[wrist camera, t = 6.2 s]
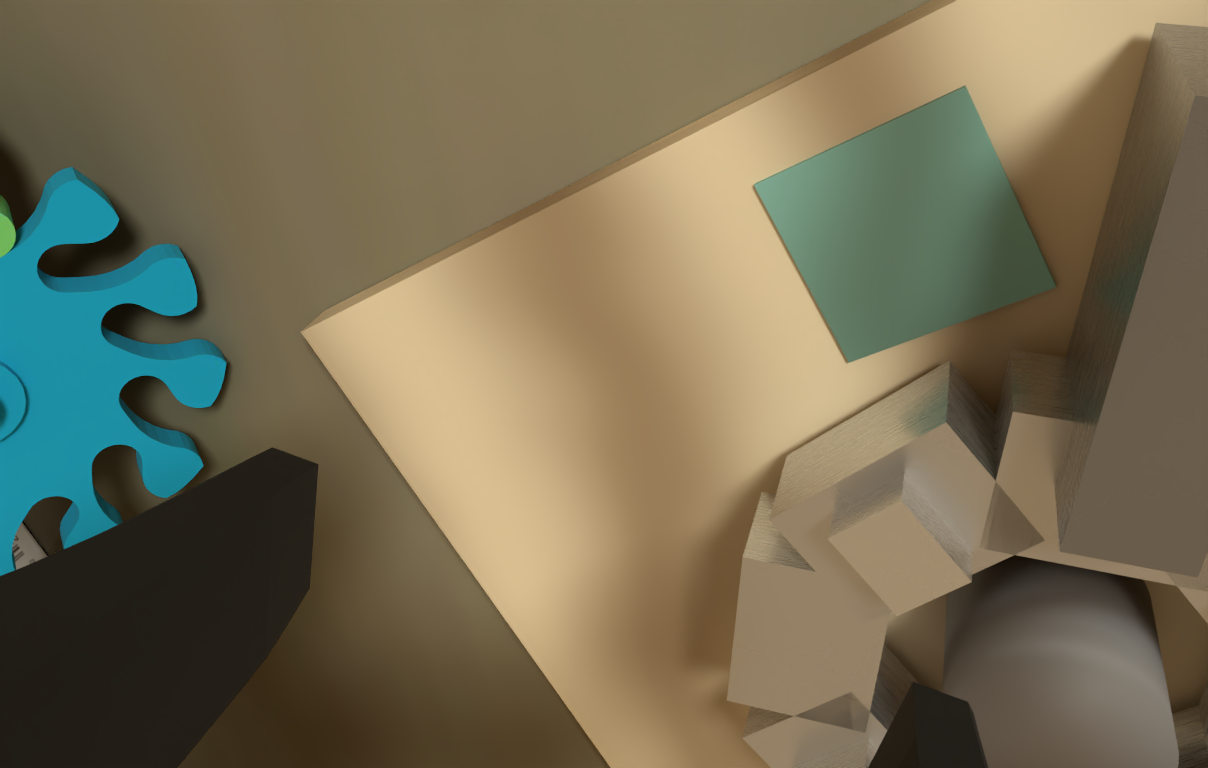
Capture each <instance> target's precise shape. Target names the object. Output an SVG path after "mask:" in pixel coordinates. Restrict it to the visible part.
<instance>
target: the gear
mask: <svg viewBox="0 0 1208 768" xmlns="http://www.w3.org/2000/svg"><path fill="white" fill-rule="evenodd" d="M118 222H119V217H118V215H117V213H116V211H115V209H114V207H113V205H112V203H111V202H110V200H109V198H108V197H107V196H106V194H105V193H104V192H103V191H102V190H101V189H100V188H99V187H98V186H97V185H96V184H95V183H93V182H92V181H91V180H90V179H89V178H87V177H86V176H84V175H83V174H81V173H80V172H79V171H77V170H76V169H74V168H73V167H70V168H66V169H63V170H61V171H59V172H57V173H55V174H54V175H53V176H52V177H51V178H50V179H49V180H48V181H47V183H46V185H45V187H44V190H43V193H42V197H41V200H40V202H39V204H38V206H37V207H36V209H35V211H34V213H33V214H32V215H31V216H30V218H29V219H28V220H27V222H26V223H25V224H24V225H22V226H21V227H20V228H19V229H18V230H17V231H16V232H15V228H14V224H13V220H12V216H11V212H10V208H9V205H8V203H7V201H6V200H5V199H4V198H3V196H1V195H0V576H1V575H4V574H7V573H9V572H12V571H14V570H16V564H15V557H14V554H13V551H12V545H13V541H14V538H15V534H16V532H17V530H18V528H19V526H20V524H21V523H22V521H23V519H24V518H25V516H26V515H27V513H28V512H29V510H30V509H31V507H32V506H33V505H34V504H35V503H37V502H38V501H40V500H42V499H44V498H47V497H52V496H61V497H65V498H68V499H70V500H72V501H73V503H72V505H71V506H70V508H69V509H68V511H67V513H66V514H65V516H64V517H63V519H62V521H61V524H60V534H61V539H62V544H63V548H64V549H66V548H68V547H70V546H72V545H75V544H77V543H79V542H82V541H84V540H86V539H88V538H91V537H93V536H95V535H97V534H99V533H102V532H104V531H106V530H108V529H110V528H112V527H114V526H116V525H118V524H120V523H122V522H123V521H122V518H121V516H120V513H119V512H118V511H117V509H116V508H115V507H113V506H112V505H110V504H109V503H107V502H106V501H105V500H104V499H103V498H102V497H101V496H100V495H99V494H98V492H97V491H96V489H95V488H94V486H93V484H92V462H93V460H94V458H95V456H96V455H97V454H98V453H99V452H100V451H101V450H103V449H105V448H106V447H109V446H112V445H119V444H121V445H127V446H131V447H133V448H134V449H136V459H137V465H138V468H139V470H140V473H141V476H142V479H143V482H144V484H145V486H146V488H147V489H148V490H149V491H150V492H151V493H153V494H154V495H156V496H159V497H163V498H167V497H169V496H171V495H173V494H175V493H176V492H178V491H179V490H180V489H182V488H183V487H184V486H185V485H186V484H187V483H188V482H190V481H191V480H192V479H193V478H194V476H195V475H196V474H197V473H198V472H199V471H200V469H201V468H202V467H203V463H202V460H201V458H200V455H199V453H198V451H197V448H196V446H195V444H194V442H193V441H192V439H191V438H190V437H189V436H187V435H186V434H184V433H182V432H179V431H173V430H167V429H163V428H160V427H157V426H154V425H152V424H150V423H148V422H146V421H144V420H142V419H141V418H140V417H138V416H137V415H136V414H134V413H133V412H132V411H131V410H130V409H129V407H128V406H127V405H126V404H125V403H124V402H123V400H122V399H121V398H120V396H119V394H120V391H121V389H122V387H123V386H124V385H125V384H126V383H127V382H128V381H130V380H131V379H133V378H136V377H139V376H146V375H147V376H154V377H157V378H159V379H161V380H162V381H163V382H164V383H165V384H166V385H167V386H168V388H169V389H170V390H171V392H172V393H173V395H174V396H175V397H176V398H177V399H178V400H179V401H180V402H181V403H183V404H184V405H187V406H189V407H194V408H205V407H209V406H211V405H212V403H213V402H214V401H215V399H216V398H217V396H218V394H219V391H220V389H221V386H222V383H223V379H224V375H225V370H226V364H227V363H226V361H225V359H224V357H223V355H222V353H221V351H220V349H219V348H217V347H216V346H215V345H214V344H213V343H212V342H209V341H207V340H202V339H191V340H187V341H183V342H179V343H172V344H148V343H143V342H137V341H135V340H132V339H129V338H126V337H123V336H121V335H119V334H116V333H114V332H112V331H109V330H107V329H106V328H104V327H103V326H102V325H101V321H102V318H103V317H104V315H105V313H106V312H107V311H108V310H110V309H111V308H113V307H114V306H116V305H119V304H124V303H133V304H137V305H140V306H143V307H145V308H147V309H149V310H151V311H154V312H156V313H159V314H162V315H166V316H178V315H181V314H185V313H187V312H189V311H191V310H192V309H194V308H195V307H196V306H197V291H196V285H195V282H194V279H193V276H192V273H191V271H190V269H189V266H188V264H187V262H186V260H185V258H184V256H183V254H182V252H181V251H180V249H179V247H178V246H177V245H172V244H160V245H156V246H153V247H151V248H149V249H147V250H145V251H144V252H143V253H142V254H141V255H140V256H138V257H137V258H136V259H135V260H133V261H132V262H130V263H128V264H127V265H125V266H123V267H121V268H119V269H116V270H114V271H111V272H108V273H104V274H100V275H96V276H86V277H64V278H61V277H53V276H50V275H48V274H46V273H44V272H43V271H41V270H40V269H39V268H38V267H37V264H38V260H39V258H40V257H41V255H42V254H43V253H44V252H45V251H46V250H47V249H49V248H51V247H53V246H56V245H60V244H86V243H94V242H97V241H100V240H102V239H104V238H106V237H107V236H108V235H109V234H111V233H112V232H113V230H114V229H115V228H116V226H117V224H118Z"/></svg>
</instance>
